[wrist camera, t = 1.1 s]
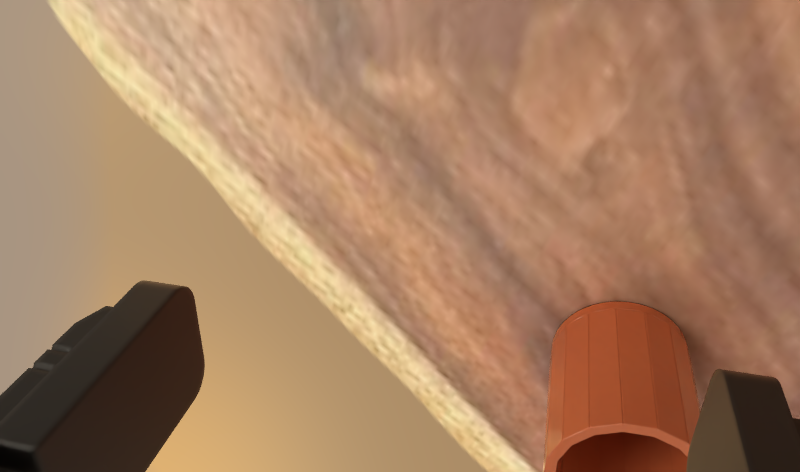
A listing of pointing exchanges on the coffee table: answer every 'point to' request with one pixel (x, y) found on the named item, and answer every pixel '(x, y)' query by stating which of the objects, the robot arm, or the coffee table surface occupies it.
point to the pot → (619, 392)
